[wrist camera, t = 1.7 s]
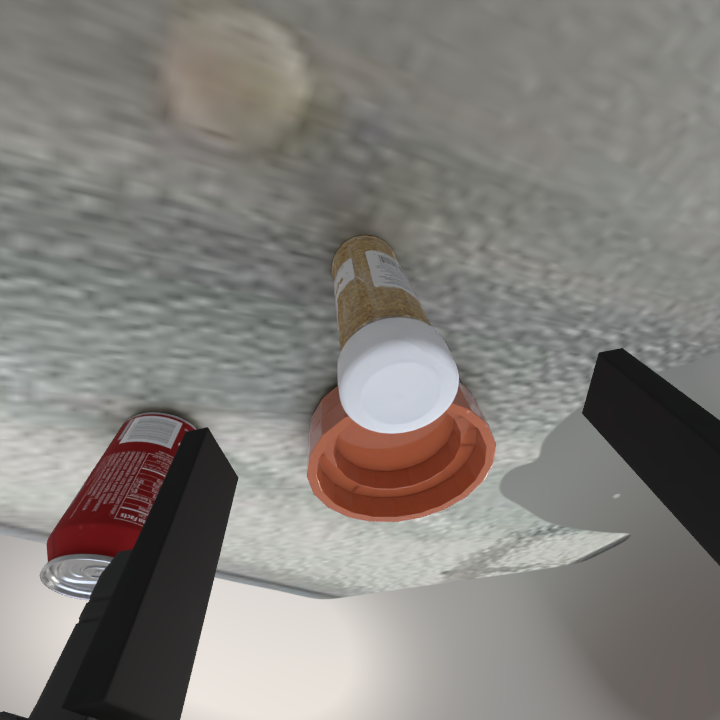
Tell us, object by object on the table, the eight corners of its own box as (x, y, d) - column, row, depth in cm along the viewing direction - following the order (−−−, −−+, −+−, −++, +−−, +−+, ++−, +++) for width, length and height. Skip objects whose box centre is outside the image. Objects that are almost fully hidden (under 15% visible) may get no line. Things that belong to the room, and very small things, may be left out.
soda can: (130, 396, 28) (26, 545, 18) (214, 419, 30) (162, 563, 20) (119, 448, 31) (26, 599, 21) (196, 466, 33) (144, 609, 24)
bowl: (400, 324, 26) (415, 361, 22) (504, 419, 33) (529, 460, 29) (274, 433, 32) (267, 479, 28) (386, 495, 39) (394, 539, 35)
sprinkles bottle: (318, 257, 23) (313, 383, 12) (377, 219, 22) (432, 318, 11) (354, 309, 25) (377, 454, 14) (409, 277, 24) (480, 406, 13)
